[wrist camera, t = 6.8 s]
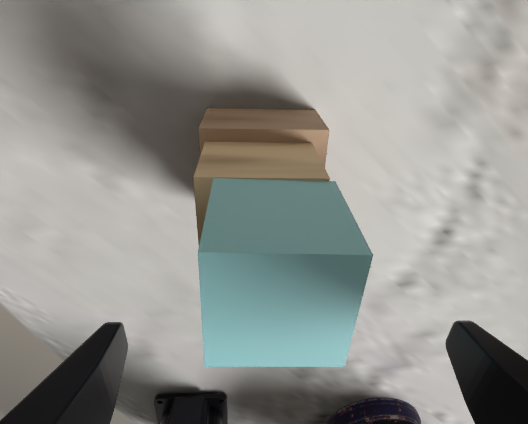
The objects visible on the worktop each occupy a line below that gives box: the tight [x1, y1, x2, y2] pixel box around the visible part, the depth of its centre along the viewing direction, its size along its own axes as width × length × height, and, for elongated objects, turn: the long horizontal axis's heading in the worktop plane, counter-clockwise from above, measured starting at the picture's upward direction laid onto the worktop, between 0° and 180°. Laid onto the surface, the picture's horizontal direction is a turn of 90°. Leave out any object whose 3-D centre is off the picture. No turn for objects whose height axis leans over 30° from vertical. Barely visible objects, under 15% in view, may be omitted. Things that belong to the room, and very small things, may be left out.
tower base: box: [198, 108, 329, 168], centre depth 19 cm, size 6×6×4 cm
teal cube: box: [198, 178, 373, 367], centre depth 12 cm, size 4×4×4 cm
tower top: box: [193, 142, 330, 245], centre depth 16 cm, size 5×5×4 cm
